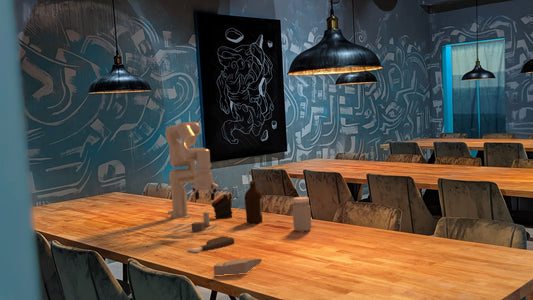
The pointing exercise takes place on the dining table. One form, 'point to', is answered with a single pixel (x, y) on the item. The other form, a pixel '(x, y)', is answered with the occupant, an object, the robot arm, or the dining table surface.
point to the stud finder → (198, 226)
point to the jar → (301, 214)
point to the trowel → (235, 266)
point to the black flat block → (222, 207)
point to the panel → (189, 228)
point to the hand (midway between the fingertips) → (205, 199)
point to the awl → (206, 219)
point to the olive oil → (253, 204)
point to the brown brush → (214, 244)
